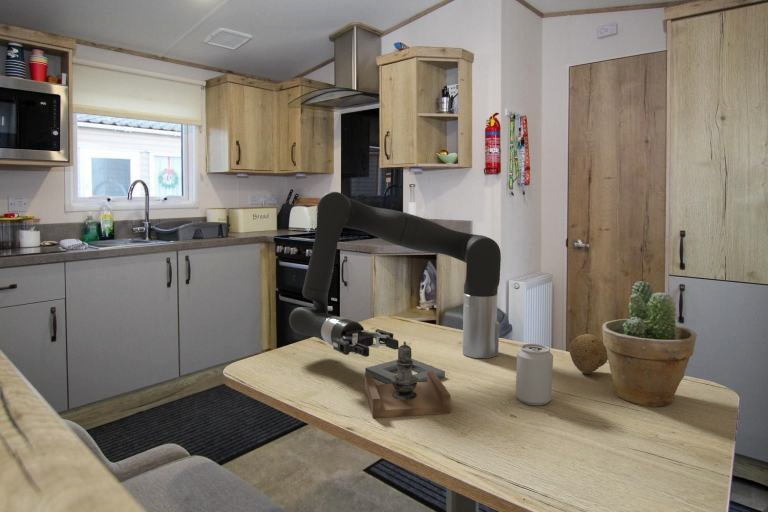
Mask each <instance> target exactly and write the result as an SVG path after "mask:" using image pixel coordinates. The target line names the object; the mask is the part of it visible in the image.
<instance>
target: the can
mask: <svg viewBox="0 0 768 512" xmlns="http://www.w3.org/2000/svg"><path fill="white" fill-rule="evenodd" d="M553 366H554V355H553V354H552V352H551V348H550V347H549V346H546V345H544V344H540V343H524V344H522V345H520V349H519V350H518V351H517V352H516V372H515V373H516V376H515V378H516V379H515V396H516V398H517V399H519V401H521V402H522V403H523V404H526V405H530V406H544V405H546V404H547V403H548V402H551V400H552V390H553V386H552V385H553V368H554V367H553Z"/></svg>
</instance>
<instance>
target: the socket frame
mask: <svg viewBox="0 0 768 512" xmlns="http://www.w3.org/2000/svg"><path fill="white" fill-rule="evenodd" d="M397 360H398V359H395V360H391V361H387V362H383V363H379V364H375V365H372V366H368V367H367V366H366V367H365V370H364V372H365V374H364V375H368V374H371V375H372V377H373V379H377V380H378V381H380V382H382V383H383V384H392V381H391V378H392V377H393V376H395V375H397V373H393V372H396V371H398V364H397V363H396V361H397ZM411 361H413V364H412V372H413V371H414V372H417V373H415V374H412V375H413V376H415V377H417V378H418V382H427V371H434V373H435V374H436V375H437V377H438V378H439V380H441V379H443V378H446V370H442V369H441V368H438V367H435V366H432V365H431V364H430V365H429V364H427V363H426V362H425V363H424V362H422V361H419V360H416V359H413V358H412V357H411Z"/></svg>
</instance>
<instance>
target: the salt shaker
mask: <svg viewBox="0 0 768 512" xmlns="http://www.w3.org/2000/svg"><path fill="white" fill-rule="evenodd" d="M411 358H412V348H411V346H410V345H407V342H406V340H405V341H404V342H403V344H401V345H399V348H398V349H397V359H396V360H397V361H396V363H397V364H398V370H397V373H396V375H395V376H393V377H392V378H391V381H392V384H393V386H394V388H395V389H396V391H395V392H393V394H392V396H393V397H394V398H396V399H400V400H409V399H413V398H415V397H416V396H417V394H416V393H415V392H414V391H412V390H413V389H414V388H415V387H416V384H417V382H418V378H417V377H415V376H413V375H414V374H413V370H412V364H413V361H411Z"/></svg>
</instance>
